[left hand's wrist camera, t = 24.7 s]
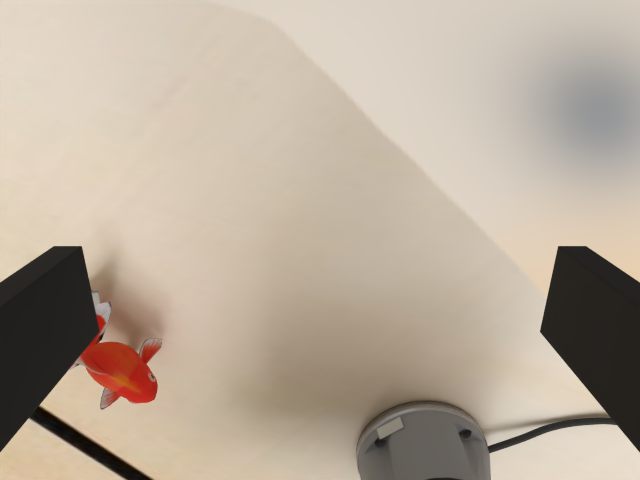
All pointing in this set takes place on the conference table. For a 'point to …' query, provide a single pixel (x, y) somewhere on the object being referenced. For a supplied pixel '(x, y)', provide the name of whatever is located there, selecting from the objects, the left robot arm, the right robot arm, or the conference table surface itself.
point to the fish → (119, 364)
